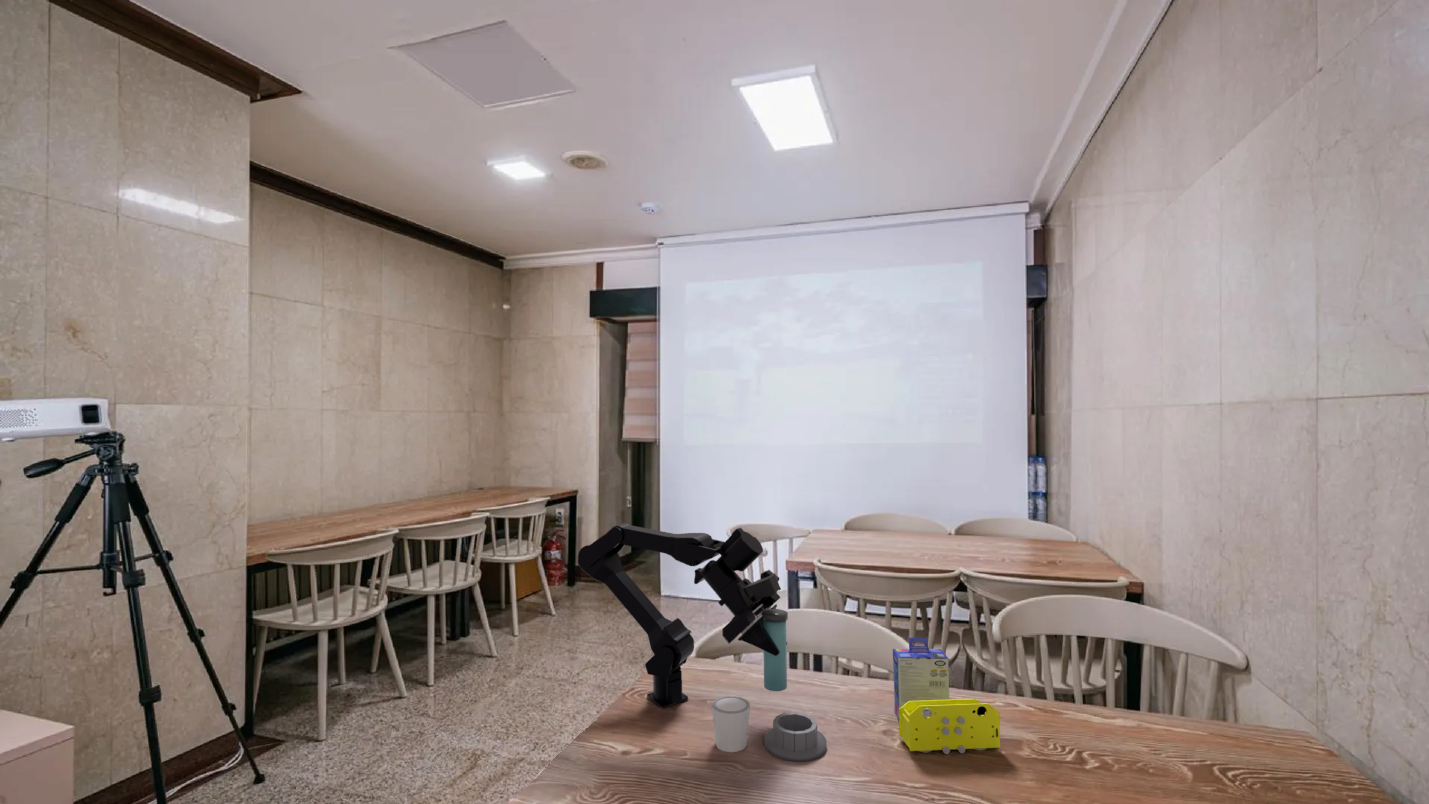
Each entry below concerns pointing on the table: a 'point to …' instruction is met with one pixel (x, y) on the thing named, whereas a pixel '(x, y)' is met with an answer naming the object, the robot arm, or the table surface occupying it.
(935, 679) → the ink cartridge box
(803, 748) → the ring mount
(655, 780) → the table surface
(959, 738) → the yellow toy chassis
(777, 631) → the teal capped cylinder
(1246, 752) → the table surface
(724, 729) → the shot glass
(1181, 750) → the table surface
